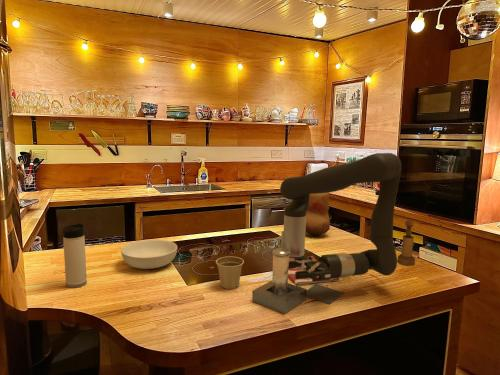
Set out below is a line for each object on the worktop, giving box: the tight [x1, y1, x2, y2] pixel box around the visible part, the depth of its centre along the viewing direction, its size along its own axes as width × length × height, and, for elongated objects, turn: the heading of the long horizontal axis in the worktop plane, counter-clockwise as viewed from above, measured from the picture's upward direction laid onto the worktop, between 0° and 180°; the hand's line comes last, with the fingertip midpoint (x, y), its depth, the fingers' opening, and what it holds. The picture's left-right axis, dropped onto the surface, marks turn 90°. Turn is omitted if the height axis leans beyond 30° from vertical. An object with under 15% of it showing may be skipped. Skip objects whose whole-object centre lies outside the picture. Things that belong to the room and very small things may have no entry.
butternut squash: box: [305, 192, 331, 237], centre depth 182 cm, size 14×13×25 cm
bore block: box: [251, 280, 308, 315], centre depth 112 cm, size 12×12×4 cm
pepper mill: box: [397, 219, 416, 266], centre depth 146 cm, size 7×6×18 cm
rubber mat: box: [306, 284, 344, 305], centre depth 117 cm, size 10×10×1 cm
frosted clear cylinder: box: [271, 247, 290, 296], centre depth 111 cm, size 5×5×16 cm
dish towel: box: [288, 255, 341, 287], centre depth 136 cm, size 17×23×3 cm
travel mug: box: [62, 223, 88, 289], centre depth 120 cm, size 6×7×20 cm
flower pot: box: [215, 255, 245, 290], centre depth 122 cm, size 9×9×9 cm
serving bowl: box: [120, 239, 178, 270], centre depth 139 cm, size 21×21×7 cm
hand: (289, 270), depth 111 cm, fingers open, 8 cm apart
